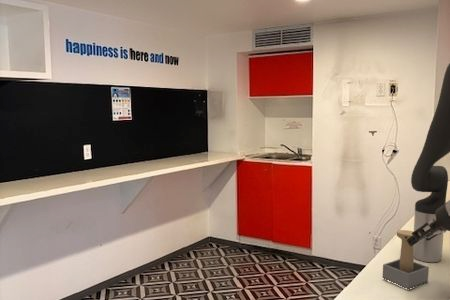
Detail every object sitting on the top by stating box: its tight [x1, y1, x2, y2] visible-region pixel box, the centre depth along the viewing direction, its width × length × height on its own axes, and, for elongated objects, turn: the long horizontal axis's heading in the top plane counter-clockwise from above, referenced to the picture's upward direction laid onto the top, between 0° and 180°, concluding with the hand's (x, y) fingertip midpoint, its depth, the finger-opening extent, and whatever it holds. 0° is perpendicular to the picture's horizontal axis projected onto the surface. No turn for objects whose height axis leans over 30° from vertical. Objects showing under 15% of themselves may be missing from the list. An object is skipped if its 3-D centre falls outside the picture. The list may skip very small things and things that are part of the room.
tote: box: [382, 258, 430, 289], centre depth 132 cm, size 10×9×5 cm
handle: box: [396, 229, 415, 274], centre depth 131 cm, size 5×6×15 cm
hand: (417, 240), depth 127 cm, fingers open, 8 cm apart
